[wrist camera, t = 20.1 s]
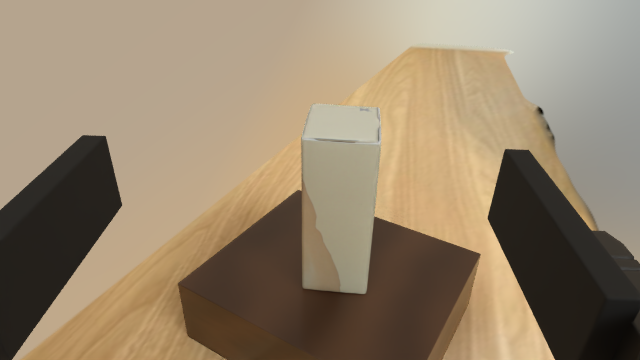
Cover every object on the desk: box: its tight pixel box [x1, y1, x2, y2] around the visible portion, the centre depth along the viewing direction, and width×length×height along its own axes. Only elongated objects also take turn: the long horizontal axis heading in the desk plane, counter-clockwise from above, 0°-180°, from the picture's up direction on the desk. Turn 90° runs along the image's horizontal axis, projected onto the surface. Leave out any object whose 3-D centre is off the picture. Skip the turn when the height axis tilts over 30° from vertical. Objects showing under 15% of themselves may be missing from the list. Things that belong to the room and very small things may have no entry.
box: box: [301, 104, 381, 294], centre depth 29 cm, size 5×4×11 cm
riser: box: [178, 190, 480, 360], centre depth 33 cm, size 16×14×5 cm
